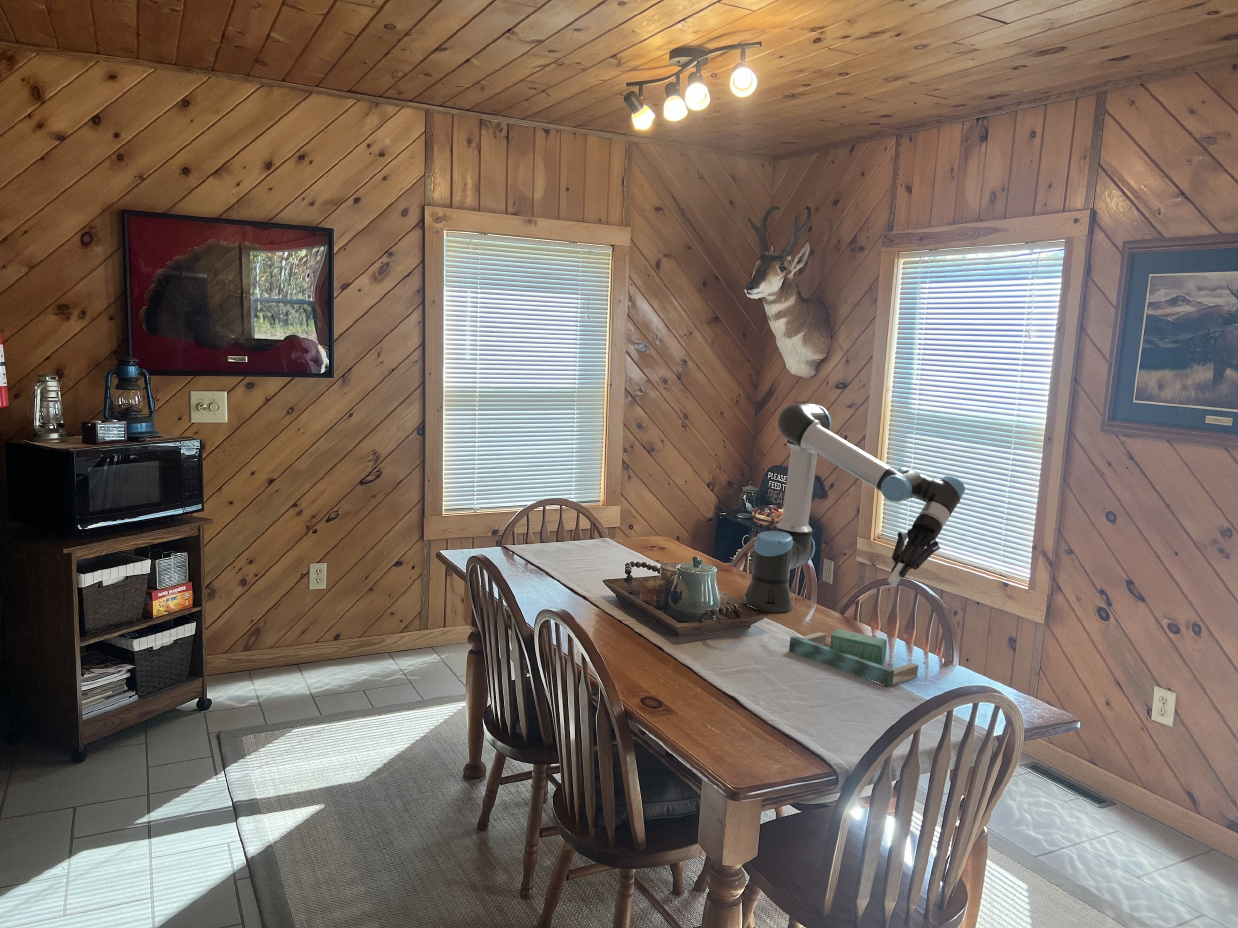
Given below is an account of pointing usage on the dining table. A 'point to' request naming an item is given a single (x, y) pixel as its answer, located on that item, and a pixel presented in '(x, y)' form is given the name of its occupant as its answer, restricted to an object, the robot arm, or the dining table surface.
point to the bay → (849, 660)
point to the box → (860, 645)
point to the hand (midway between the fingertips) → (891, 583)
